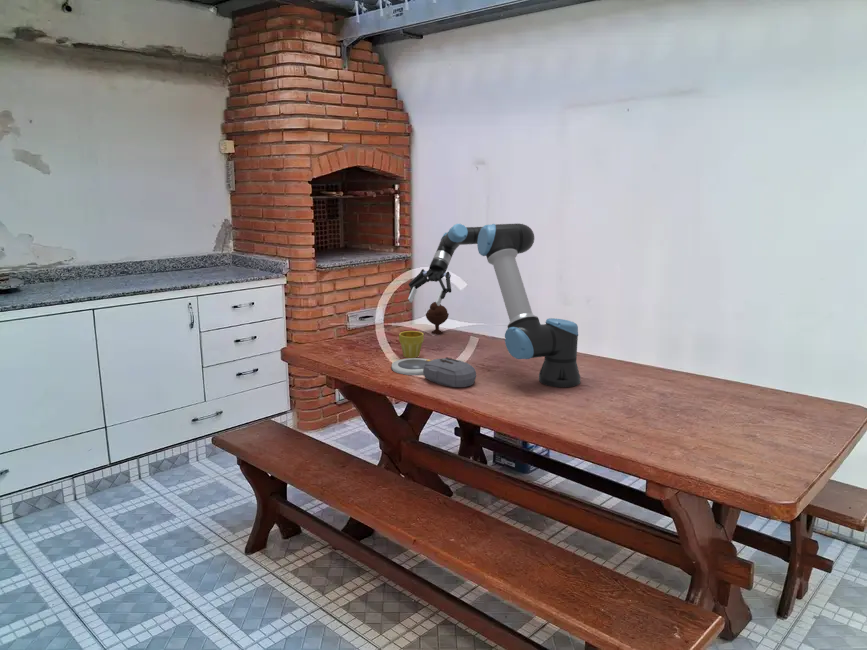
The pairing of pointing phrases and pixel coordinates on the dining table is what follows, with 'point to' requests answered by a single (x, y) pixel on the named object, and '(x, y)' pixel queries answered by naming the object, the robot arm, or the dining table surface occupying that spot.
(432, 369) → the soft grey pack
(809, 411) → the dining table surface
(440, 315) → the ice cream bowl
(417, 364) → the base
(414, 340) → the plant pot
